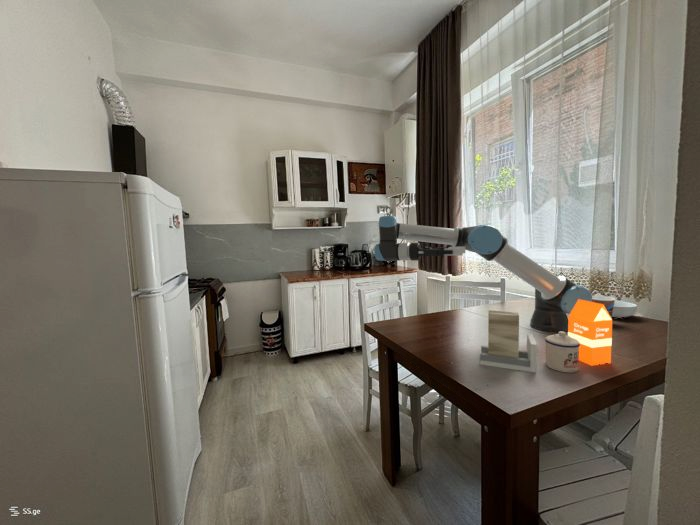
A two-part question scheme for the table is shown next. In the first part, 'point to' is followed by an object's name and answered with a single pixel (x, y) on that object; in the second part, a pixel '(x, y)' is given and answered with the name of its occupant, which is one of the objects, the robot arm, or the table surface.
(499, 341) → the tall wooden block
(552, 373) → the table surface
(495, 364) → the track
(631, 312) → the cereal bowl
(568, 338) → the teacup with lid
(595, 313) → the orange juice
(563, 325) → the robot arm
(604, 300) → the coffee cup
